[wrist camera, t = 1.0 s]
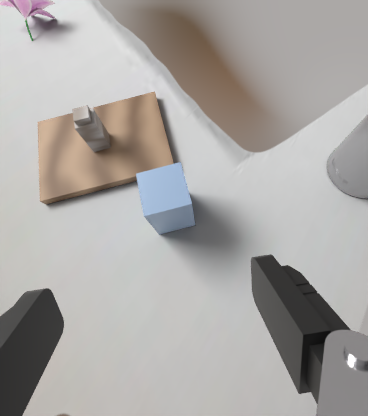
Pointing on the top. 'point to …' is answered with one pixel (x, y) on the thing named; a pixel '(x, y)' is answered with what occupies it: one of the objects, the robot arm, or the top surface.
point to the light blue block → (166, 198)
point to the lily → (29, 8)
